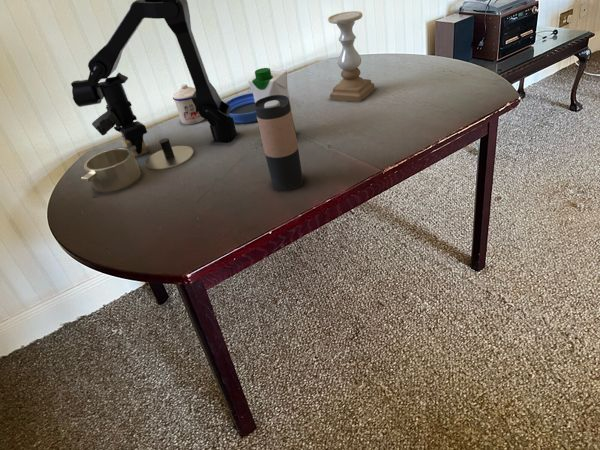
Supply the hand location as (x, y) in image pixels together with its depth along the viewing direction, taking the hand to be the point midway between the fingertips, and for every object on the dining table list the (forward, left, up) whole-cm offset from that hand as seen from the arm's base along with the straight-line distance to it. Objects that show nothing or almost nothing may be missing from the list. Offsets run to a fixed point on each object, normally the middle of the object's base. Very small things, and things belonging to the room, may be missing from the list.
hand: (137, 150), depth 138 cm
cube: (0, 0, -1) cm, 1 cm away
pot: (-6, +15, -1) cm, 16 cm away
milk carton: (-41, -14, -1) cm, 43 cm away
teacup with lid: (-4, -26, -1) cm, 26 cm away
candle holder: (-51, -47, -1) cm, 69 cm away
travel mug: (-54, +8, -1) cm, 55 cm away
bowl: (-22, -31, -1) cm, 38 cm away
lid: (-14, +2, 0) cm, 14 cm away
